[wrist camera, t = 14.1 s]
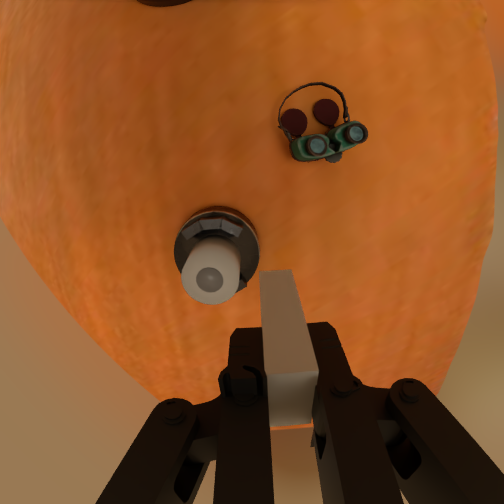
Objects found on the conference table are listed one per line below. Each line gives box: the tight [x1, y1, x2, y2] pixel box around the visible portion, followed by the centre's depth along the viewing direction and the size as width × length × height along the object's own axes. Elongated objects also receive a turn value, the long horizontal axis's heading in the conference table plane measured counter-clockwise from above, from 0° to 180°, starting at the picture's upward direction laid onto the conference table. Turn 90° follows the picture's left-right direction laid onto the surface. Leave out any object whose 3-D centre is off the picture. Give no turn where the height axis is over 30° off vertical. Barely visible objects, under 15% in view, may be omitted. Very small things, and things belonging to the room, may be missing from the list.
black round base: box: [174, 206, 260, 293], centre depth 39 cm, size 11×11×6 cm
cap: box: [181, 234, 241, 304], centre depth 35 cm, size 6×6×6 cm
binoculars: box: [278, 82, 368, 163], centre depth 30 cm, size 9×11×10 cm
